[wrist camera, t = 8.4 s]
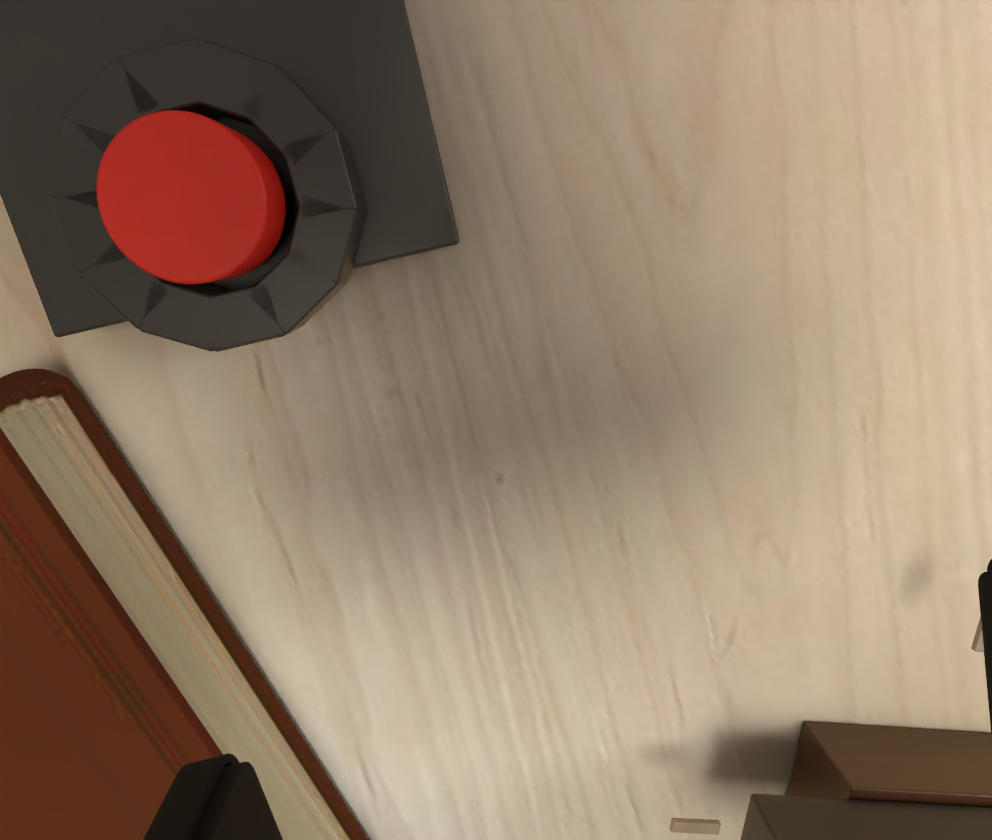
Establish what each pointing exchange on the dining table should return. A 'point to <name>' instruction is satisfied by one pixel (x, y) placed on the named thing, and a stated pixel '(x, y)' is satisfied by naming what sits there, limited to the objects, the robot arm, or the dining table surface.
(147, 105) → the button box
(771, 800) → the dark grey rectangular block
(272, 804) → the book
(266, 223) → the button
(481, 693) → the dining table surface
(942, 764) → the rack base
